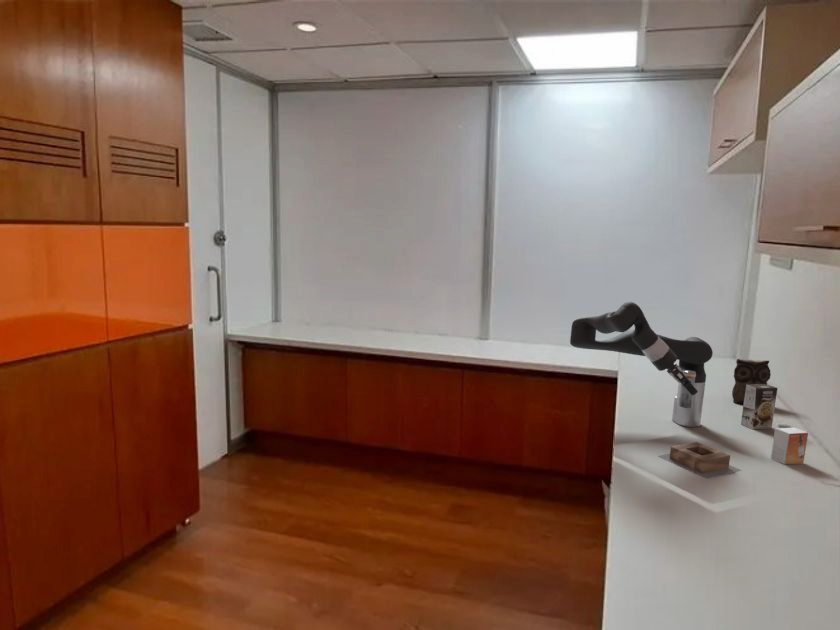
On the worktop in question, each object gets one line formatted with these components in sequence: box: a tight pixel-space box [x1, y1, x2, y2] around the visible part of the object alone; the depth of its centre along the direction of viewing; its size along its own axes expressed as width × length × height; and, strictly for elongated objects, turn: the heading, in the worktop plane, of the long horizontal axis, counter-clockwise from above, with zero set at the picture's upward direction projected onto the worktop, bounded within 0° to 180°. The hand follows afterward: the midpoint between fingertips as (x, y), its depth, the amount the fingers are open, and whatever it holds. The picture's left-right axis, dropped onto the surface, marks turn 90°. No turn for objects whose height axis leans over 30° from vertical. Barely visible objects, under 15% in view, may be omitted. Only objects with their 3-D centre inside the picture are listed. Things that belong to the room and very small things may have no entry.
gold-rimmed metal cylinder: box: [679, 370, 696, 408], centre depth 201 cm, size 4×4×12 cm
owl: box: [731, 358, 771, 406], centre depth 262 cm, size 13×13×20 cm
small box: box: [770, 427, 809, 465], centre depth 197 cm, size 8×6×10 cm
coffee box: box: [740, 384, 778, 430], centre depth 231 cm, size 9×6×16 cm
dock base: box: [657, 453, 742, 479], centre depth 188 cm, size 18×16×2 cm
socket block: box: [669, 441, 731, 473], centre depth 188 cm, size 12×12×4 cm
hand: (693, 391), depth 201 cm, fingers closed on gold-rimmed metal cylinder, 4 cm apart
